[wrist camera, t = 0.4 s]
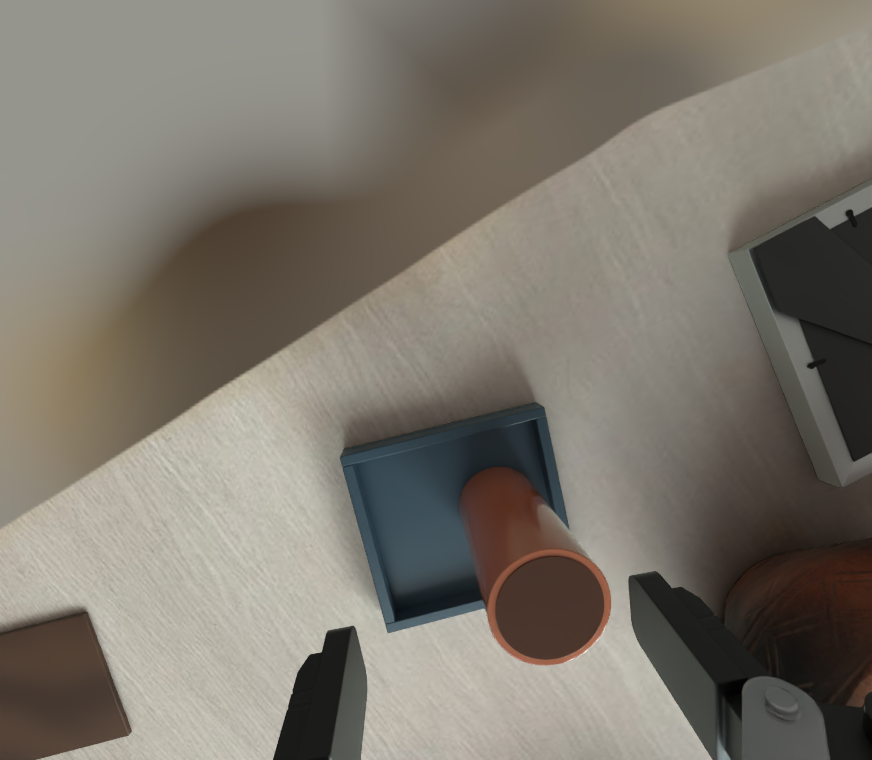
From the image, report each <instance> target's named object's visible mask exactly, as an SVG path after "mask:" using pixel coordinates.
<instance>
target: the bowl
mask: <svg viewBox="0 0 872 760" xmlns="http://www.w3.org/2000/svg"><path fill="white" fill-rule="evenodd" d="M723 624H724V625H725V627H726V629H729V630H730V631H731V632H732V634H733V635H734V636H735V637H736V638H737V639H738V640H739V641H740V642H741V643H742V644H743V646H744V647H745V648H746V649H747V650H748V651H749V652H750V653H751V654H752V655H753V656H754V658H755V659H756V660H757V661H758V662H759V663H760V664H761V665H762V666H763V667H764V668H765V670H766V671H767V672H768V673H769V674H770V675H771V676H772V677H774V678H778V679H781V680H784V681H787V682H789V683H791V684H793V685H795V686H797V687H798V688H800V689H801V690H803V691H804V692H805V693H807V694H808V695H809V696H810V697H811V698H812V699H813V700H814V701H817V702H821V703H827V704H836V705H844V706H853V707H862V708H864V700H865V697H866V695H867V694H868V693H869V692H871V691H872V538H866V539H859V540H853V541H847V542H843V543H840V544H833V545H829V546H823V547H818V548H812V549H804V550H797V551H791V552H785V553H783V554H781V555H779V556H774V557H770V558H768V559H765V560H763V561H761V562H759V563H757V564H756V565H754V566H753V567H752V568H750V569H749V570H747V571H746V573H745V574H744V575H743V576H742V577H741V578H740V579H739V580H738V582H737V583H736V584H735V586H734V587H733V589H732V590H731V592H730V593H729V595H728V598H727V601H726V610H725V622H724V623H723Z"/></svg>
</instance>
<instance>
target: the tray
mask: <svg viewBox="0 0 872 760" xmlns="http://www.w3.org/2000/svg"><path fill="white" fill-rule="evenodd" d="M340 460H341V464H342V466H343V471H344V475H345V478H346V482H347V486H348V489H349V493H350V497H351V500H352V504H353V508H354V511H355V515H356V519H357V522H358V526H359V530H360V533H361V537H362V541H363V544H364V548H365V552H366V555H367V559H368V563H369V566H370V570H371V573H372V577H373V581H374V584H375V588H376V592H377V595H378V599H379V603H380V606H381V610H382V614H383V617H384V621H385V624H386V628H387V632H388V633H391V632H395V631H398V630H402V629H406V628H410V627H414V626H418V625H422V624H425V623H429V622H433V621H437V620H441V619H445V618H449V617H453V616H456V615H460V614H464V613H468V612H472V611H476V610H480V609H483V608H484V604H483V601H482V597H481V593H480V589H479V586H478V582H477V578H476V574H475V571H474V567H473V563H472V560H471V556H470V552H469V548H468V545H467V541H466V537H465V533H464V530H463V526H462V522H461V518H460V514H459V499H460V495H461V492H462V490H463V488H464V486H465V485H466V484H467V482H468V481H469V480H470V479H471V478H472V477H473V476H474V475H476V474H477V473H479V472H480V471H483V470H485V469H488V468H491V467H509V468H513V469H515V470H517V471H519V472H521V473H523V474H524V475H525V476H526V477H527V478H528V479H529V480H530V481H531V482H532V483H533V485H534V486H535V487H536V489H537V490H538V491H539V492H540V494H541V495H542V496H543V497H544V499H545V500H546V501H547V503H548V504H549V505H550V506H551V508H552V509H553V510H554V512H555V513H556V514H557V515H558V517H559V518H560V519H561V521H562V522H563V523H564V524H565V526H566V527H567V528H568V529H569V526H568V521H567V516H566V511H565V506H564V501H563V496H562V491H561V487H560V482H559V477H558V472H557V467H556V462H555V457H554V452H553V448H552V443H551V438H550V433H549V428H548V423H547V418H546V414H545V409H544V407H543V406H541V405H540V404H538V403H537V402H535V403H530V404H526V405H522V406H518V407H514V408H510V409H506V410H502V411H498V412H494V413H490V414H486V415H481V416H477V417H473V418H469V419H465V420H461V421H457V422H453V423H449V424H445V425H441V426H437V427H432V428H428V429H424V430H420V431H416V432H412V433H408V434H404V435H400V436H396V437H392V438H388V439H383V440H379V441H375V442H371V443H367V444H363V445H359V446H355V447H351V448H347V449H344V450H343V452H342V454H341V456H340ZM569 531H570V530H569Z"/></svg>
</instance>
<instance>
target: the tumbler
mask: <svg viewBox="0 0 872 760" xmlns="http://www.w3.org/2000/svg"><path fill="white" fill-rule="evenodd" d="M459 514H460V518H461V522H462V526H463V530H464V533H465V537H466V541H467V545H468V548H469V552H470V556H471V560H472V563H473V567H474V571H475V574H476V578H477V582H478V586H479V589H480V593H481V597H482V601H483V604H484V608H485V612H486V616H487V619H488V623H489V626H490V629H491V632H492V634H493V636H494V638H495V639H496V641H497V642H498V644H499V645H500V646H501V647H502V648H503V649H504V650H505V651H506V652H507V653H509V654H510V655H512V656H513V657H515V658H516V659H519V660H521V661H523V662H526V663H530V664H535V665H555V664H560V663H564V662H567V661H570V660H572V659H574V658H576V657H578V656H580V655H581V654H583V653H584V652H586V651H587V650H588V649H589V648H590V647H591V646H592V645H593V644H594V643H595V642H596V641H597V640H598V639H599V637H600V636H601V634H602V633H603V631H604V629H605V627H606V625H607V622H608V619H609V616H610V609H611V596H610V590H609V586H608V583H607V581H606V579H605V577H604V575H603V573H602V572H601V570H600V569H599V568H598V567H597V565H596V564H595V563H594V561H593V560H592V559H591V558H590V556H589V555H588V554H587V552H586V551H585V550H584V549H583V547H582V546H581V545H580V544H579V542H578V541H577V540H576V538H575V537H574V536H573V535H572V533H571V532H570V531H569V529H568V528H567V527H566V526H565V524H564V523H563V522H562V521H561V519H560V518H559V517H558V515H557V514H556V513H555V512H554V510H553V509H552V508H551V506H550V505H549V504H548V503H547V501H546V500H545V499H544V497H543V496H542V495H541V494H540V492H539V491H538V490H537V489H536V487H535V486H534V485H533V483H532V482H531V481H530V480H529V479H528V478H527V477H526V476H525V475H524V474H523V473H521V472H519V471H517V470H515V469H513V468H509V467H491V468H488V469H485V470H483V471H480V472H479V473H477V474H476V475H474V476H473V477H472V478H471V479H470V480H469V481H468V482H467V484H466V485H465V486H464V488H463V490H462V492H461V495H460V499H459Z"/></svg>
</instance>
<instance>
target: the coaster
mask: <svg viewBox="0 0 872 760" xmlns="http://www.w3.org/2000/svg"><path fill="white" fill-rule="evenodd" d="M130 733H131V728H130V726H129V723H128V720H127V718H126V715H125V712H124V710H123V707H122V704H121V702H120V699H119V696H118V694H117V691H116V688H115V686H114V683H113V680H112V678H111V675H110V672H109V669H108V667H107V664H106V661H105V659H104V656H103V653H102V651H101V648H100V645H99V643H98V640H97V637H96V635H95V632H94V629H93V627H92V624H91V621H90V619H89V616H88V613H87V612H84V613H80V614H76V615H72V616H68V617H64V618H60V619H56V620H52V621H48V622H44V623H40V624H36V625H32V626H28V627H24V628H20V629H16V630H12V631H8V632H4V633H0V760H36V759H40V758H44V757H48V756H52V755H56V754H59V753H63V752H67V751H71V750H75V749H79V748H82V747H86V746H90V745H94V744H98V743H102V742H105V741H109V740H113V739H117V738H121V737H125V736H128V735H129V734H130Z"/></svg>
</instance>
